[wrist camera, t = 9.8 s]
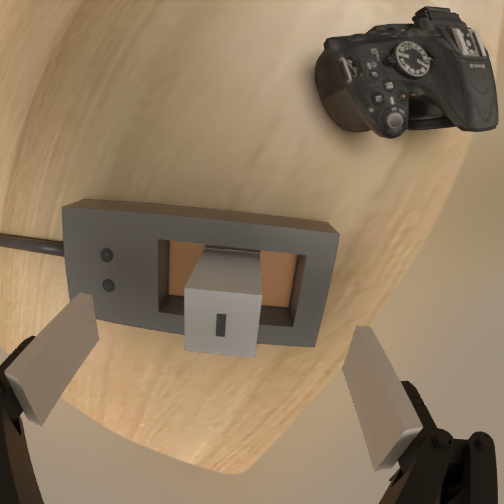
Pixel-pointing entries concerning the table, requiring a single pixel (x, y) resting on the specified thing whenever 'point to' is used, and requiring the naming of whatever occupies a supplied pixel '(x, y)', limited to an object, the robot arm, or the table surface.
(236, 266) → the block
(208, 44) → the table surface
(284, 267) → the power strip
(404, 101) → the camera
